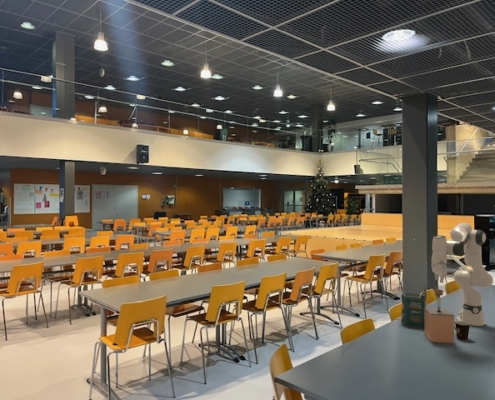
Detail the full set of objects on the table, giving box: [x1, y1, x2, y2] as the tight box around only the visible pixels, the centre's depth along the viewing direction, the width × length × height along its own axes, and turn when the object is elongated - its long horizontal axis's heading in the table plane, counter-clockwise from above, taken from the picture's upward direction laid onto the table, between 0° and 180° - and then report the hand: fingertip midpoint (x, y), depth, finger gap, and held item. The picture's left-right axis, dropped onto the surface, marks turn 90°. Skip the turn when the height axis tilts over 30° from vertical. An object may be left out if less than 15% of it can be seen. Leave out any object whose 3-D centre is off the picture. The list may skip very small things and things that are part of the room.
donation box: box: [400, 284, 428, 329], centre depth 284 cm, size 16×16×28 cm
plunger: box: [434, 288, 444, 312], centre depth 251 cm, size 10×10×17 cm
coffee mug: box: [454, 320, 471, 341], centre depth 254 cm, size 12×9×10 cm
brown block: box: [423, 307, 455, 344], centre depth 251 cm, size 14×14×18 cm
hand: (439, 281), depth 252 cm, fingers open, 8 cm apart
